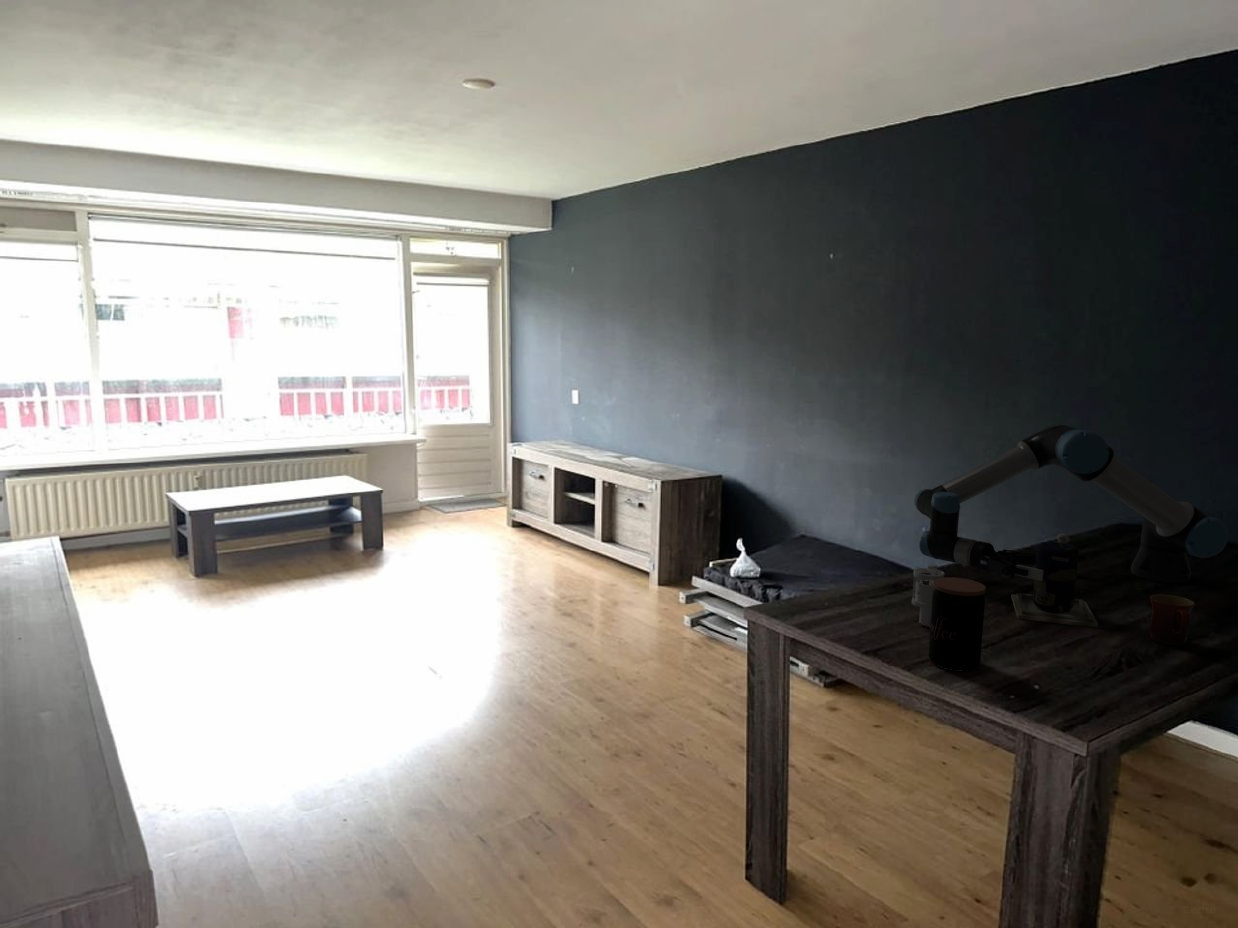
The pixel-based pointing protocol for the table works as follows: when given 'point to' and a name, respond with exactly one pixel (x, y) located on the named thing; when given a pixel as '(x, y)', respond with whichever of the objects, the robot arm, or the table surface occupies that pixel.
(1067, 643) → the table surface
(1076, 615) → the square tray
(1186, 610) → the mug
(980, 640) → the coffee jar
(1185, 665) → the table surface
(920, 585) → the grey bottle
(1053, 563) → the canister
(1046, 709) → the table surface
